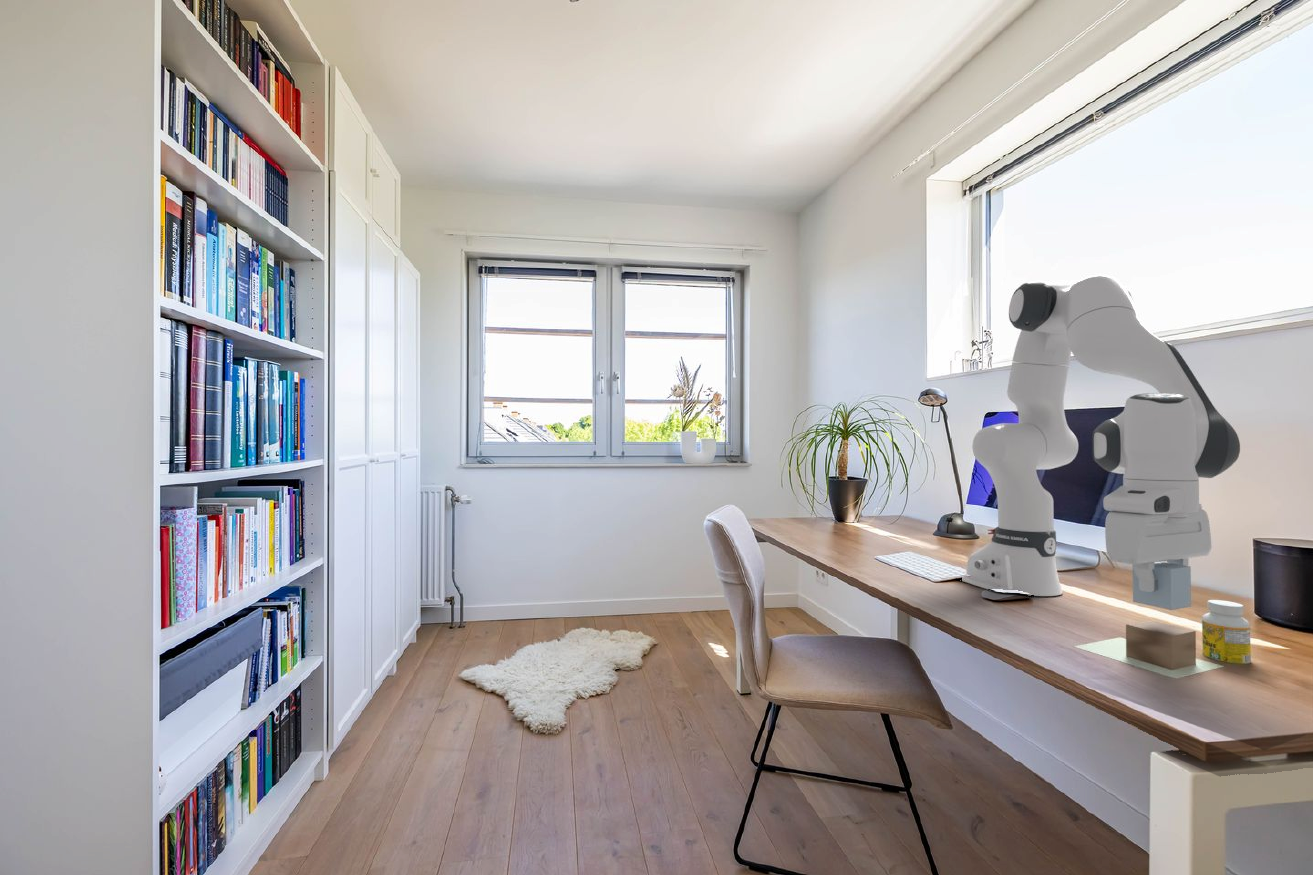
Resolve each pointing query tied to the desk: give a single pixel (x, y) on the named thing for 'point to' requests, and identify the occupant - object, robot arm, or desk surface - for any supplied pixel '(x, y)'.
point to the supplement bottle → (1226, 633)
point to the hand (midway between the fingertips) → (1161, 589)
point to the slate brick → (1166, 587)
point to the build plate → (1118, 652)
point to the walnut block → (1161, 644)
